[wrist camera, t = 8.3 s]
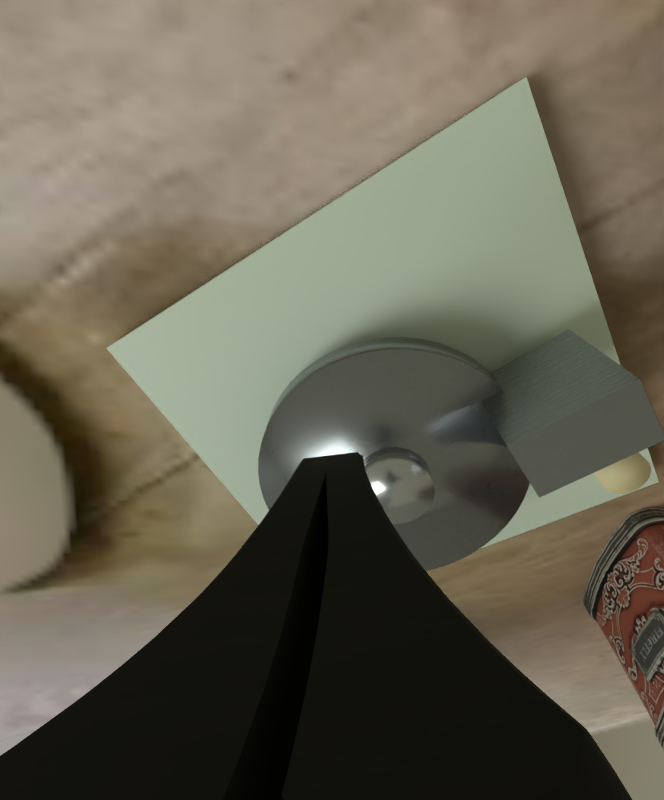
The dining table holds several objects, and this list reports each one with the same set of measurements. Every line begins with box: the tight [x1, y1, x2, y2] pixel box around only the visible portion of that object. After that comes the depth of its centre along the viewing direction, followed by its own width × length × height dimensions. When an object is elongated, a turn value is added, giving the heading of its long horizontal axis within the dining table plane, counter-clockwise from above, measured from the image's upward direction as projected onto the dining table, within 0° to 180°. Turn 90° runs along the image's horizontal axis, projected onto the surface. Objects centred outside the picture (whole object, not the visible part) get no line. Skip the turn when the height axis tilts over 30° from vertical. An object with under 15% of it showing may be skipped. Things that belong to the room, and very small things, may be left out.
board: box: [107, 77, 659, 549], centre depth 18 cm, size 18×18×6 cm
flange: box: [258, 329, 664, 571], centre depth 17 cm, size 14×11×4 cm
